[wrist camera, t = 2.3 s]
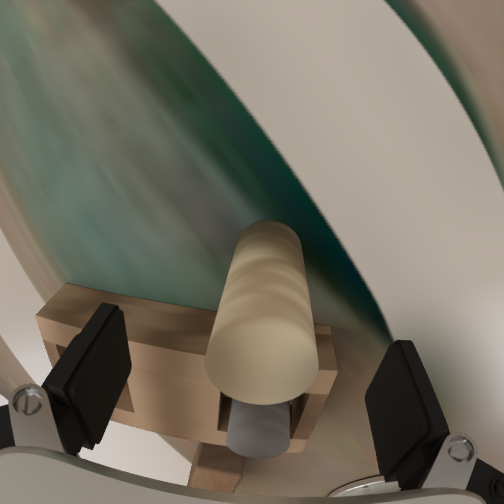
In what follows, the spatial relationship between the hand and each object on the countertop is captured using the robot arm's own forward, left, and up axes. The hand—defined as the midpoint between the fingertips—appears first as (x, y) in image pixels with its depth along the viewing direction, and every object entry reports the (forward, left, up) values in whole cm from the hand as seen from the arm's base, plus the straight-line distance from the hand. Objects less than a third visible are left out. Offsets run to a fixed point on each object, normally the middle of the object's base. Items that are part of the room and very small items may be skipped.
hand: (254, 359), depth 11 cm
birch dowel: (0, +1, -10) cm, 10 cm away
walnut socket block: (+5, +11, -10) cm, 15 cm away
